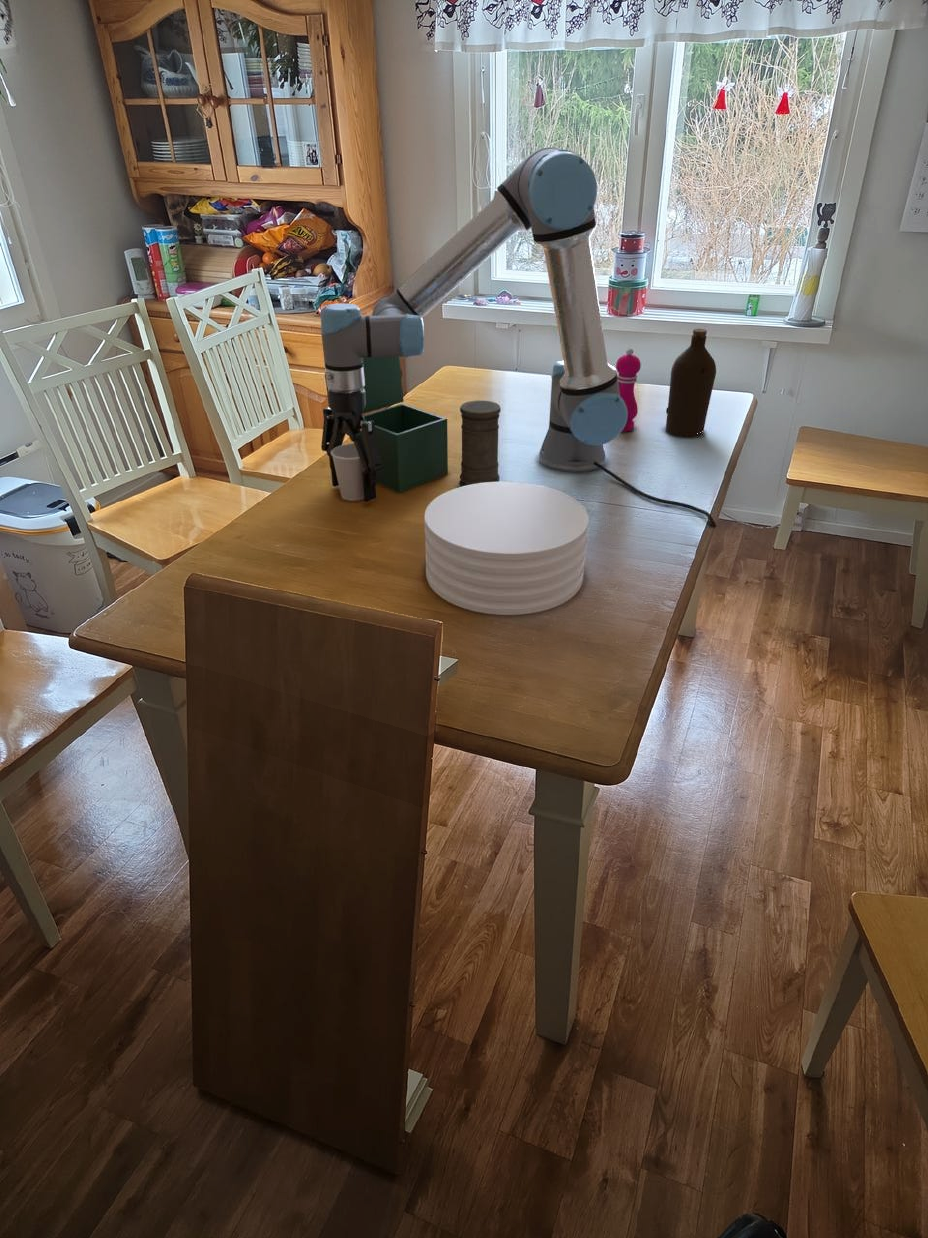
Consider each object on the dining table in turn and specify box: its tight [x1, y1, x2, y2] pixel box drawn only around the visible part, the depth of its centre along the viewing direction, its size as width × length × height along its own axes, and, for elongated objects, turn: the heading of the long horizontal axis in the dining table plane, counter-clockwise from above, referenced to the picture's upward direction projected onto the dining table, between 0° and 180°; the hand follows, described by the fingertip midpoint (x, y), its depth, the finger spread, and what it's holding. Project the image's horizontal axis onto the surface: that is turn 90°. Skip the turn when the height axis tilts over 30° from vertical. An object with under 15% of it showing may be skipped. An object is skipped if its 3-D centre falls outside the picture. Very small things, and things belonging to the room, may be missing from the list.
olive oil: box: [665, 328, 717, 439], centre depth 195 cm, size 11×11×25 cm
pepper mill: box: [615, 347, 642, 433], centre depth 199 cm, size 7×7×20 cm
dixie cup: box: [331, 443, 365, 502], centre depth 166 cm, size 8×8×10 cm
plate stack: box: [423, 481, 590, 616], centre depth 138 cm, size 28×28×12 cm
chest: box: [355, 403, 449, 493], centre depth 175 cm, size 15×15×13 cm
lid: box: [363, 354, 405, 415], centre depth 173 cm, size 15×15×5 cm
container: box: [458, 399, 502, 487], centre depth 168 cm, size 9×9×18 cm
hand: (354, 491), depth 169 cm, fingers open, 10 cm apart
